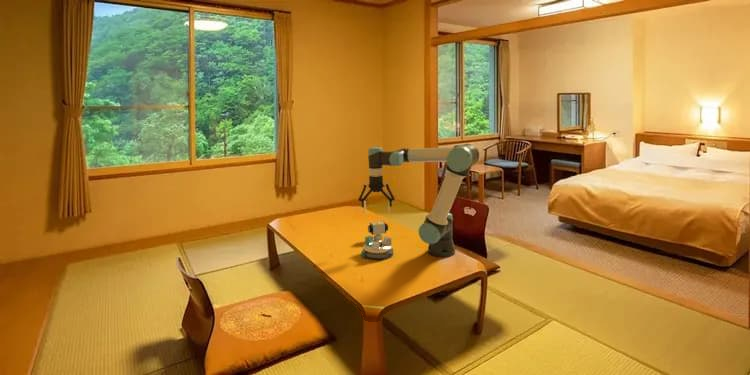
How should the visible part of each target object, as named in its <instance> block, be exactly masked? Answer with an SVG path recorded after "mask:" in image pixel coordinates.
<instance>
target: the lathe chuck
mask: <svg viewBox="0 0 750 375" xmlns="http://www.w3.org/2000/svg"><path fill="white" fill-rule="evenodd" d="M364 241H365V243H364V244H363V246H362V247H363V248H362V251H363V250H364V251H365V252H366V253H369V254H386V253H389V252H391V251H392V248H393V245H392V237H391V236H389V235H388V236H387V235H386V236H383V239H382V240H381V239H375V240H374V236H373V235H366V236H365V237H364Z"/></svg>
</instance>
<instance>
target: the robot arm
mask: <svg viewBox="0 0 750 375" xmlns="http://www.w3.org/2000/svg"><path fill="white" fill-rule="evenodd" d="M367 150H368V156H367V157H368V175H369V176H368V178H369V179H368V184H366V183H364V184H363V188H362V190H361V193H360V195H359V197H358V201H359V202H360V203H361V207H362V208H363V213H364V214H367V207H366V199H367V198H368V196H369V195H370V194H371V193H382V195H383V196H384V197H385V198H386V199H387V200H388V201H387V207H388V210H387V211H388V214H390V213H391V209H390V208H392V206H393V205H392V204H393V202H392V201H395V199H396V198H395V196H394V194H393V192H392V190H391V188H390V186H389V183H384V181H383V180H384V178H383V175H384V174H383V166H390V167H391V166H392V167H400V166H402V165H403V163H444V162H445V163H446V165H445V170H446V174H445V176H444V179H443V181H442V183H441V186H440V188H439V192H438V194H437V197H436V199H435V202H434V204H433V206H432V209H431V211H430V212H429V213H427V214H426V216H425V219H424V222H423V223H422V224H421V225H420V226H419V228H418V235H419V237H420V240H421V241H423V242H424V243H426V244H428V247H427V252H428V254H429V255H431V256H433V257H439V258H444V257H447V258H448V257H451V256H454V255H455V254H456V247H455V244H454V240H453V221H454V219H453V214H452V213H450V211H451V209H452V207H453V205H454V202H455V200H456V197H457V194H458V192H459V189H460V187H461V184H462V182H463V179H464V178H467V177H468V176H469V173H470V172H471V171H470V170H471V169H472V167H473V166H474V165H476V164H477V163H478V162H479V160H480V152H479V148H477V146H475V145H473V144H472V143H465V144H460V145H459V144H458V145H456V144H455V145H454V146H453V147H426V148H425V147H421V148H420V147H419V148H417V147H416V148H407V147H402V148H399V149H395V150H391V151H383V148H382V147H380V146H375V147H374V146H372V147H369V148H368V149H367ZM368 188H369V190H368V192H367V193H366V194H365V195H364V193H365V191H366V189H368ZM383 188H386V190H387V192H388V193H389V194H388V193H387V192H386V191H385V190H384V189H383ZM363 195H364V196H363ZM362 197H363V198H362Z"/></svg>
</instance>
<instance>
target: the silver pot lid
mask: <svg viewBox="0 0 750 375" xmlns="http://www.w3.org/2000/svg"><path fill="white" fill-rule="evenodd" d="M360 253H361V259H363V260H364V259H366V260H369V261H385V260H384V259H386V260H388V258H389V259H391V258H392V257H393V256H394V248H393V247H392V251H391V252H389V253H386V254H369V253H366V252H365V251H364V250H363V249H362V250H361V252H360Z"/></svg>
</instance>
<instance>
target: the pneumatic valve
mask: <svg viewBox="0 0 750 375" xmlns="http://www.w3.org/2000/svg"><path fill="white" fill-rule="evenodd" d="M388 231H389V225H388V224H387V223H386V222H385V221H376V222H369V224H368V226H367V232H368V233H370V234H371V236H373V235H374V236H373V240H375V239H381V240H382V241H383V240H384V236H383V234H387V232H388Z"/></svg>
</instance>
